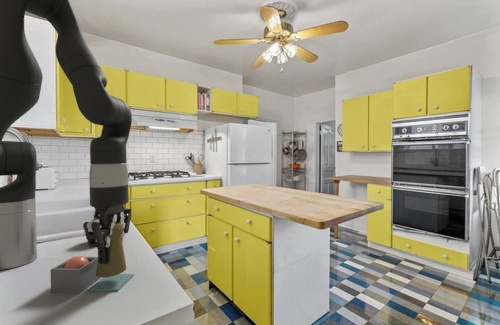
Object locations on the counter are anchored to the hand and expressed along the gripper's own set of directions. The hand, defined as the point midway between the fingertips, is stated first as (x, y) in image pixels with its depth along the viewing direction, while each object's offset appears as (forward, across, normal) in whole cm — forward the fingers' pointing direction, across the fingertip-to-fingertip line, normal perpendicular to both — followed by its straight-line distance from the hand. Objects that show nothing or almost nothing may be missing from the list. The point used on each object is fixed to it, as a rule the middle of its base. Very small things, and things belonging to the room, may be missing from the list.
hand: (111, 258), depth 53 cm
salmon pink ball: (+5, -1, +7) cm, 9 cm away
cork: (+3, 0, 0) cm, 3 cm away
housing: (+6, -1, +8) cm, 9 cm away
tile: (+6, 0, 0) cm, 6 cm away
